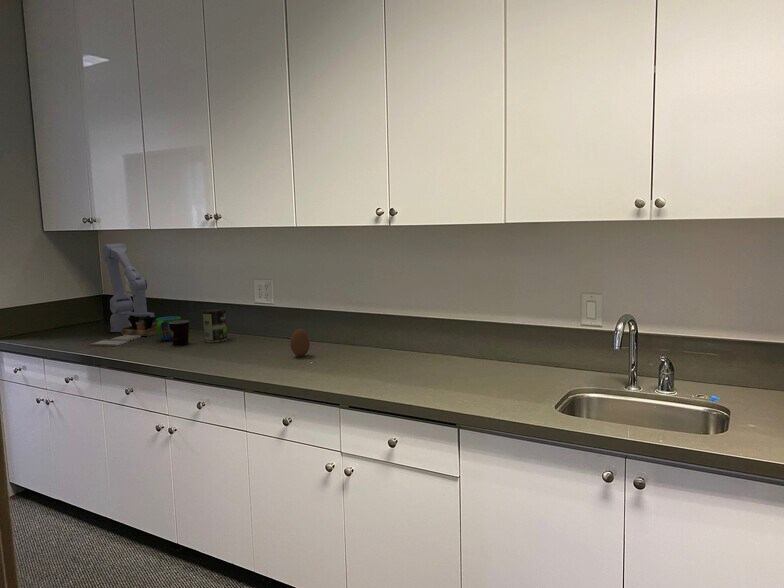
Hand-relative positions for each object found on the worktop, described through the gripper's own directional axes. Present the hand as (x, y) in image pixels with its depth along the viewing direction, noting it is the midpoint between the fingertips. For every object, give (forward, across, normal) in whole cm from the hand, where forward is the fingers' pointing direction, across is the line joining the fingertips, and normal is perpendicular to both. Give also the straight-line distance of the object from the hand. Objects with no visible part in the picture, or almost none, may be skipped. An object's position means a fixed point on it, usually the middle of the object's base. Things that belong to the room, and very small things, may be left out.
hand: (142, 331), depth 300 cm
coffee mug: (+2, +36, -17) cm, 40 cm away
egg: (+2, +100, -25) cm, 103 cm away
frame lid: (+1, +1, -22) cm, 23 cm away
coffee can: (+2, +46, -5) cm, 46 cm away
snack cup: (+2, +23, -8) cm, 24 cm away
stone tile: (+1, +1, -12) cm, 12 cm away
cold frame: (+1, 0, 0) cm, 1 cm away
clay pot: (+2, 0, 0) cm, 2 cm away
